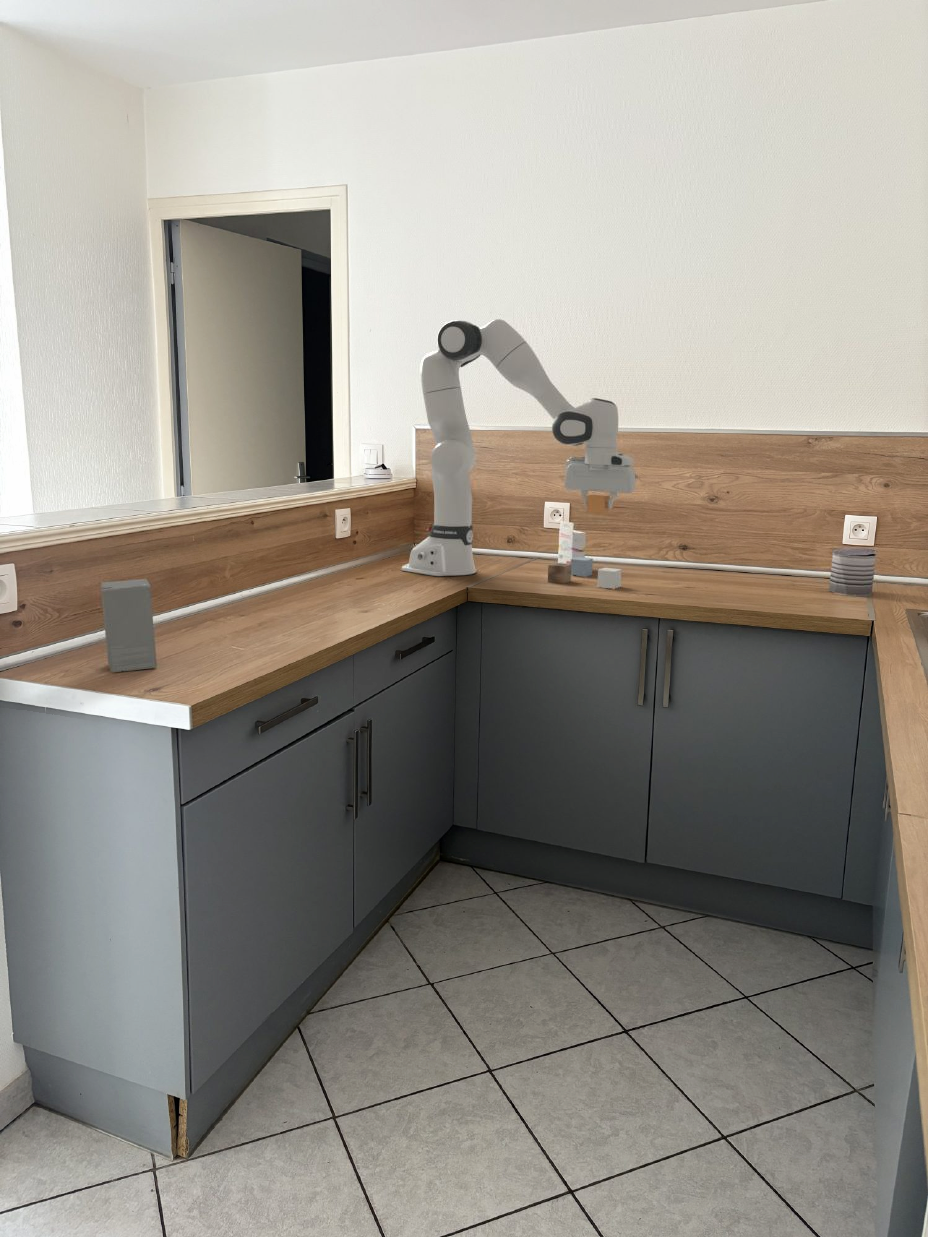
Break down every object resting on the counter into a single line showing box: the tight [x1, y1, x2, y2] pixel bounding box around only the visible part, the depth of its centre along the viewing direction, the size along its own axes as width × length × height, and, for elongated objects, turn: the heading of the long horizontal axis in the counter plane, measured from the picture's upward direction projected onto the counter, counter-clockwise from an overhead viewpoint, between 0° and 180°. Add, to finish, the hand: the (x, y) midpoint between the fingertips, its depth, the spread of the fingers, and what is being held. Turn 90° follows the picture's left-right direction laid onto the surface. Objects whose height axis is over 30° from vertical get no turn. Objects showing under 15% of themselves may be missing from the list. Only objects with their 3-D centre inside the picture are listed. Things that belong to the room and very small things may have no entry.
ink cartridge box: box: [557, 520, 587, 564], centre depth 289 cm, size 9×5×15 cm, turn 25°
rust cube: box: [585, 494, 611, 516], centre depth 265 cm, size 5×5×5 cm
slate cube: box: [571, 557, 594, 578], centre depth 279 cm, size 5×5×5 cm
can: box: [828, 547, 878, 597], centre depth 258 cm, size 11×11×12 cm
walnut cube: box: [547, 562, 572, 584], centre depth 267 cm, size 5×5×5 cm
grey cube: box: [596, 567, 622, 590], centre depth 260 cm, size 5×5×5 cm
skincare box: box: [100, 578, 158, 674], centre depth 169 cm, size 8×7×16 cm
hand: (598, 507), depth 265 cm, fingers closed on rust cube, 5 cm apart
